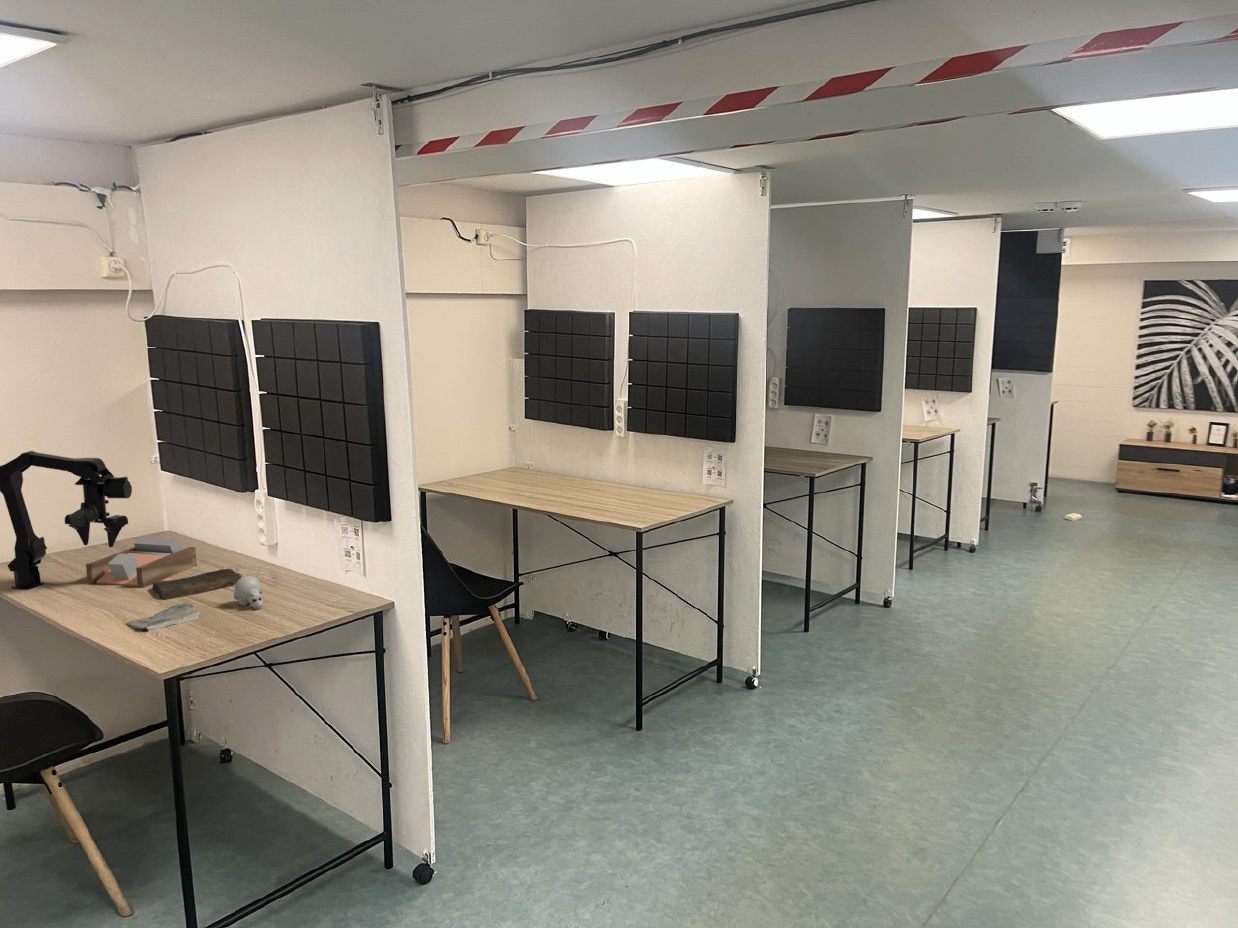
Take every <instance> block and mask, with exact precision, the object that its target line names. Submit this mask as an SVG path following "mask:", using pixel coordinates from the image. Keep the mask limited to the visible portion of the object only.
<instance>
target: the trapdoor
mask: <svg viewBox="0 0 1238 928" xmlns="http://www.w3.org/2000/svg"><path fill="white" fill-rule="evenodd" d="M133 545H134V546H133V547H135V548H136V550H137V551H129V553H128V554H134V555H135V558H136V560H137V562H138V564H139V566H142V565H144V564H147V563H150V562H152V561H155V560H157V559H160V558H163V557H165V556H168V555H170V554H173V553H176V552H178V551H181V550H183V548H182V547H181V545H180V542H179V540H178V538H172V537H171V538H170V537H156V536H155V537H154V536H139V538H138V539H137V540H135V542H133ZM96 582H97V583H96V584H103V585H105V584H107V585H119V586H131V587H138V582H137V573H136V574H135V575H134V576H133V577H132V578H131V579H129V580H127V579H115V578H114V576H113V574H112V572H111V570H109V571H108V572H106V573H105V574H104V575H103V576H102V577H101V578H100V579H99V580H97V581H96Z"/></svg>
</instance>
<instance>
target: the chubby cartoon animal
mask: <svg viewBox="0 0 1238 928" xmlns="http://www.w3.org/2000/svg"><path fill="white" fill-rule="evenodd" d="M241 577H242V578H240V579H239V580H238V581H237V583H236V584H234V592H233V599H234V600H238V603H237V604H238V605H239V606H241V607H245V606H247V605H248V604H250V605H252V607H253V608H254V609H255V610H260V609H262V608H263V607H264V603H263V599H264V598H263V590H261V589H262V585H261V582H260V581H259V579H258V578H257V577H254V576H252V575H246V576H241ZM259 608H260V609H259Z"/></svg>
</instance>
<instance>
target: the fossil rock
mask: <svg viewBox="0 0 1238 928" xmlns="http://www.w3.org/2000/svg"><path fill="white" fill-rule="evenodd" d="M200 614H201V613H200V611H199V610H196V609H195V607H194V605H192V604H191V603H189V602H183V603H179V604H174V605H172V606H169V607H168V608H166V609H164V610H161V611H160V612H157V613H155V614H154V615H152V616H149V617H144V618H139V619H134V620H131V621H128V622H125V624H126V625H127V624H128V625H127V626H129V625H130V626H129V627H131V626H132V627H131V628H133V627H134V628H133V629H136V628H137V630H140V631H144V630H146V631H147V630H148V631H150V630H154V631H156V630H155V629H158V628H161V629H163V628H162V627H164V628H166V627H168V626H174V625H173V624H175V625H178V624H177V623H180V624H182V623H181V622H184V621H188V620H192V619H195V620H198V619H199V616H200ZM192 621H193V620H192ZM188 622H189V621H188ZM184 623H185V622H184ZM158 630H159V629H158ZM148 631H147V632H148ZM150 632H151V631H150Z"/></svg>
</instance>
